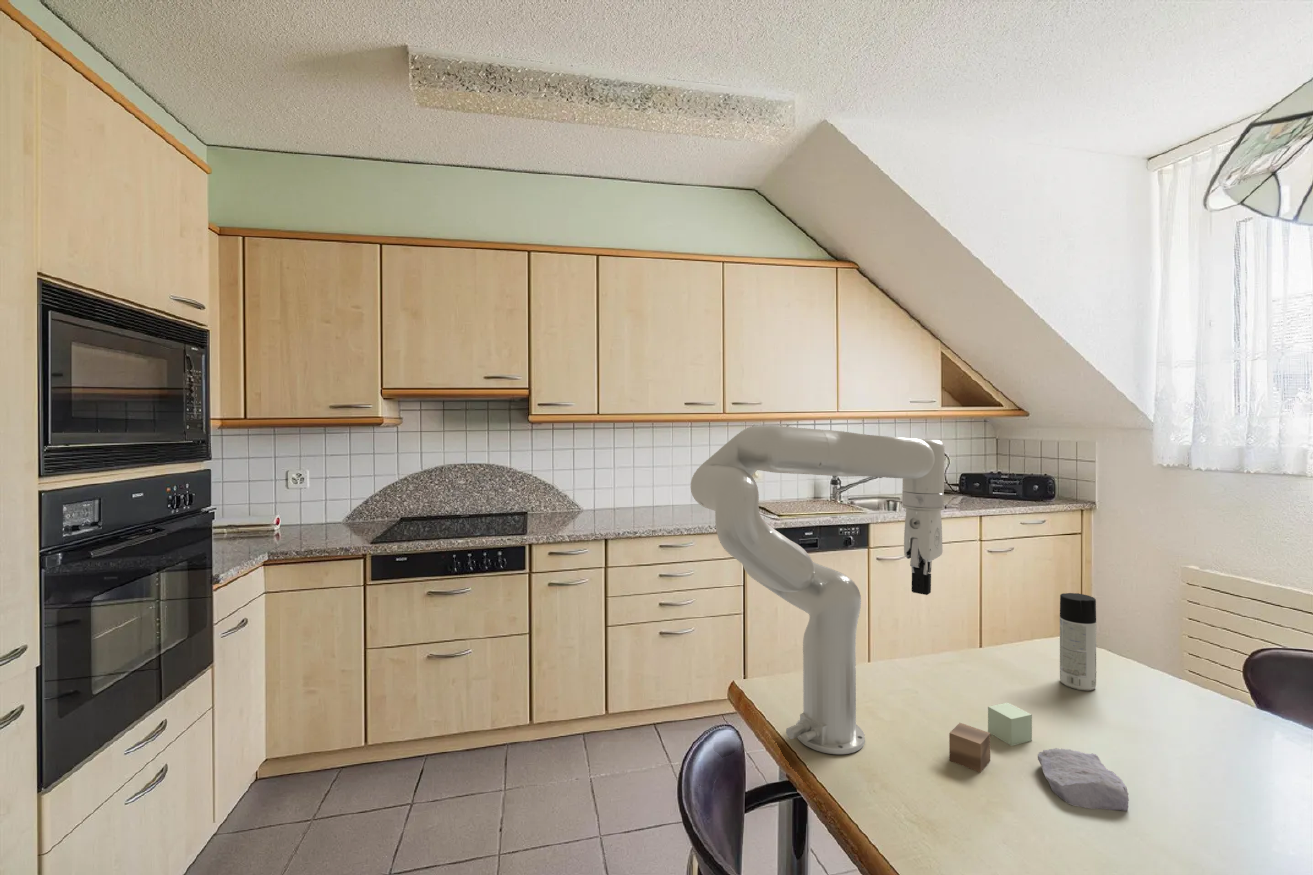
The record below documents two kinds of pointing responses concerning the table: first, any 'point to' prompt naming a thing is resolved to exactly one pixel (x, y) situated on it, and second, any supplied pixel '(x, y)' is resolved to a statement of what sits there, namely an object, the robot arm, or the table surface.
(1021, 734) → the sage block
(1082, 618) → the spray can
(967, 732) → the walnut block
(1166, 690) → the table surface
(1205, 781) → the table surface
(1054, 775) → the stone block
